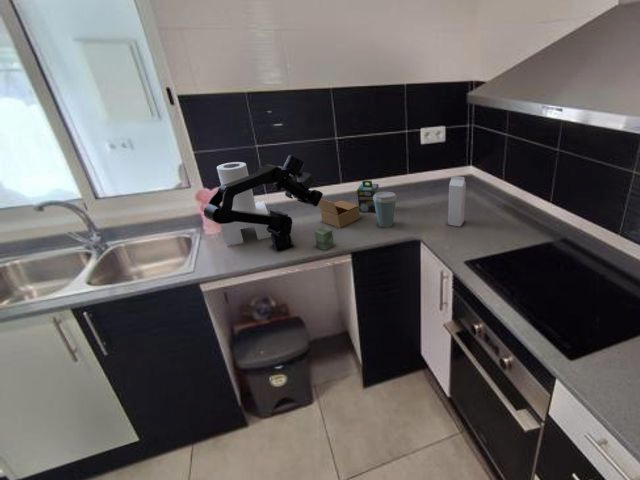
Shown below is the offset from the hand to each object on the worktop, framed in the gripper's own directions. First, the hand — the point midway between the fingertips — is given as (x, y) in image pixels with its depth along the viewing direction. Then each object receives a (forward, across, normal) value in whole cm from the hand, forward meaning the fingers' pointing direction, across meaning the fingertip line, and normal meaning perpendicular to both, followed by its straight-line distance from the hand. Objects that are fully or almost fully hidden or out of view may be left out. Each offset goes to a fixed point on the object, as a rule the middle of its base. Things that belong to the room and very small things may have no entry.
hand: (316, 203), depth 164 cm
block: (+2, -14, +16) cm, 21 cm away
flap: (+6, 0, -2) cm, 6 cm away
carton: (+18, 0, 0) cm, 18 cm away
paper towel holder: (-6, +24, +24) cm, 34 cm away
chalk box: (+30, -1, -13) cm, 33 cm away
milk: (+38, -46, -20) cm, 62 cm away
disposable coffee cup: (+24, -21, -6) cm, 32 cm away
